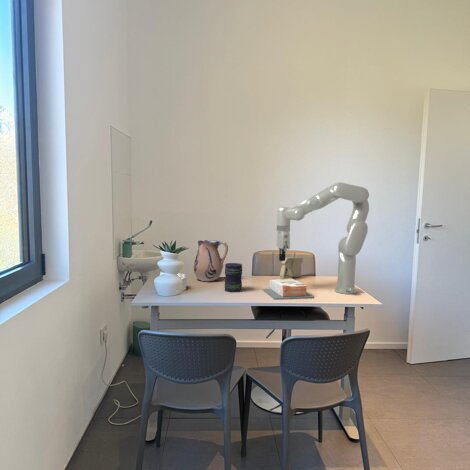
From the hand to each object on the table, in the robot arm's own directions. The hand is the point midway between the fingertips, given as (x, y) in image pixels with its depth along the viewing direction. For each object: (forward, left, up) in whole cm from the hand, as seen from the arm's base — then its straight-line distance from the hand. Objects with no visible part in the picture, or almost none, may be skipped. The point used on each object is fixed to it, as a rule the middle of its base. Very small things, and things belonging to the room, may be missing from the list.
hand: (282, 260), depth 237 cm
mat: (-10, 0, -17) cm, 20 cm away
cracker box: (+2, 0, -13) cm, 14 cm away
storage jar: (+2, +28, -17) cm, 33 cm away
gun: (+31, -18, -17) cm, 40 cm away
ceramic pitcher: (+31, +36, -17) cm, 51 cm away
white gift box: (+9, +59, -17) cm, 62 cm away
